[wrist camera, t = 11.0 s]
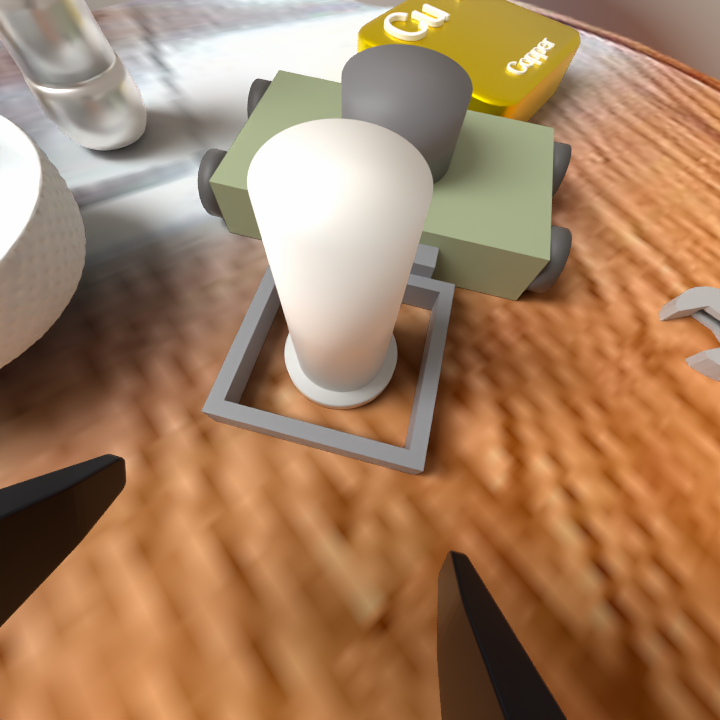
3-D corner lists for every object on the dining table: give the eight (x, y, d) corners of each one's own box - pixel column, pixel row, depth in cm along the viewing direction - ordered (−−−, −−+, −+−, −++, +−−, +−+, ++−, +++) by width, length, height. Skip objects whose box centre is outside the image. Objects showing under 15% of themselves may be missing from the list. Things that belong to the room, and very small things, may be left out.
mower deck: (523, 504, 17) (656, 503, 10) (117, 394, 19) (-30, 320, 11) (540, 182, 27) (613, 62, 20) (273, 123, 28) (250, -11, 21)
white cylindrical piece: (326, 432, 18) (303, 319, 7) (266, 344, 20) (178, 150, 9) (416, 370, 20) (508, 203, 9) (354, 294, 22) (367, 81, 11)
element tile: (485, 166, 28) (512, 103, 24) (346, 91, 31) (347, 23, 27) (561, 89, 33) (594, 26, 29) (435, 31, 37) (448, -34, 32)
